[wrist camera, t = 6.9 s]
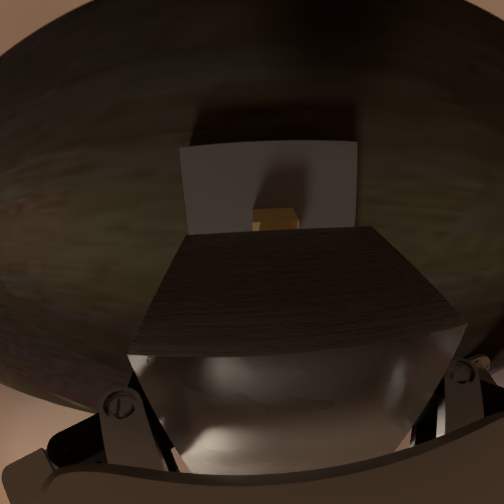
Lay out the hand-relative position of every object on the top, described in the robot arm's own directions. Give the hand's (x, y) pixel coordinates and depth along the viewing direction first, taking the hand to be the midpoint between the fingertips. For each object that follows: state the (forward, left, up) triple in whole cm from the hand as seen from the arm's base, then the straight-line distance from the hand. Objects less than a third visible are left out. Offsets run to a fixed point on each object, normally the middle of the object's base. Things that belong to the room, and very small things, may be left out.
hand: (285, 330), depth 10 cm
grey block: (0, 0, -15) cm, 15 cm away
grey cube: (0, 0, -1) cm, 1 cm away
